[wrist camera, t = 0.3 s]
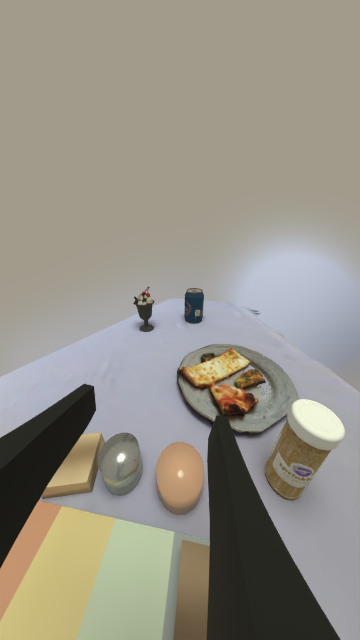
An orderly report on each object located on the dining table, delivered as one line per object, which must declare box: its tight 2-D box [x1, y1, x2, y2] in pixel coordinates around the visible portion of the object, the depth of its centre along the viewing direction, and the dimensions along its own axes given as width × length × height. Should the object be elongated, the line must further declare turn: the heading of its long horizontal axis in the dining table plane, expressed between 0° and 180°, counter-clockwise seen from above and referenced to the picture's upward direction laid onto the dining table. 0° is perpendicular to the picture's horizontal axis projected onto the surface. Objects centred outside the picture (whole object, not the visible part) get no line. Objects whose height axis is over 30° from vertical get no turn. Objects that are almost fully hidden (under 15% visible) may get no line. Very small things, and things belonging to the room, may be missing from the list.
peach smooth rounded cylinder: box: [156, 442, 204, 514], centre depth 23 cm, size 6×6×4 cm
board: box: [0, 501, 210, 640], centre depth 15 cm, size 12×28×1 cm, turn 82°
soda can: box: [185, 288, 204, 323], centre depth 65 cm, size 7×7×12 cm
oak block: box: [41, 433, 105, 499], centre depth 24 cm, size 6×6×3 cm
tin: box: [98, 433, 142, 496], centre depth 23 cm, size 5×5×5 cm
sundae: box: [134, 287, 154, 332], centre depth 58 cm, size 7×7×15 cm
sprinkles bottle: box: [265, 399, 345, 500], centre depth 21 cm, size 5×5×14 cm
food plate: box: [177, 344, 299, 434], centre depth 39 cm, size 25×23×4 cm
